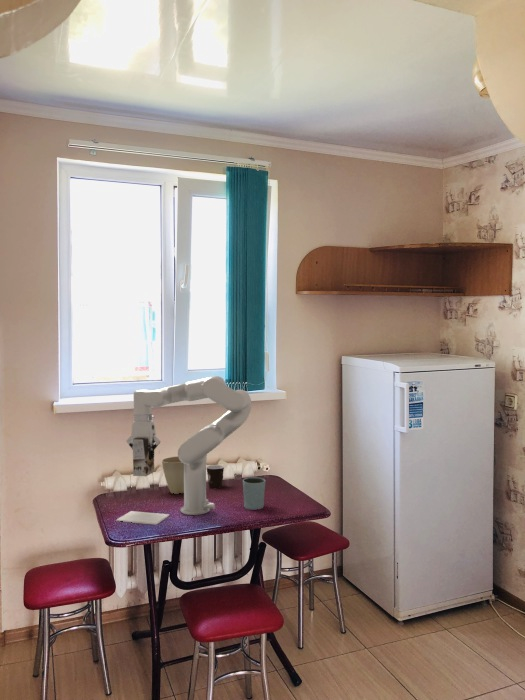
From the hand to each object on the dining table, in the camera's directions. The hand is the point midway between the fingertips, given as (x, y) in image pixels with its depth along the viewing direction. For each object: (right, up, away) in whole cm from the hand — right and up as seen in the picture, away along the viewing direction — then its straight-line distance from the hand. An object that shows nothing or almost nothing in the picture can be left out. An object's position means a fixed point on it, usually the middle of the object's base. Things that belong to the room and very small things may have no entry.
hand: (143, 458), depth 251 cm
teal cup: (+48, -22, +2) cm, 53 cm away
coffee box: (0, -7, 0) cm, 7 cm away
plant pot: (+11, -22, +28) cm, 37 cm away
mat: (+2, -23, -13) cm, 26 cm away
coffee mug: (+29, -21, +35) cm, 50 cm away
